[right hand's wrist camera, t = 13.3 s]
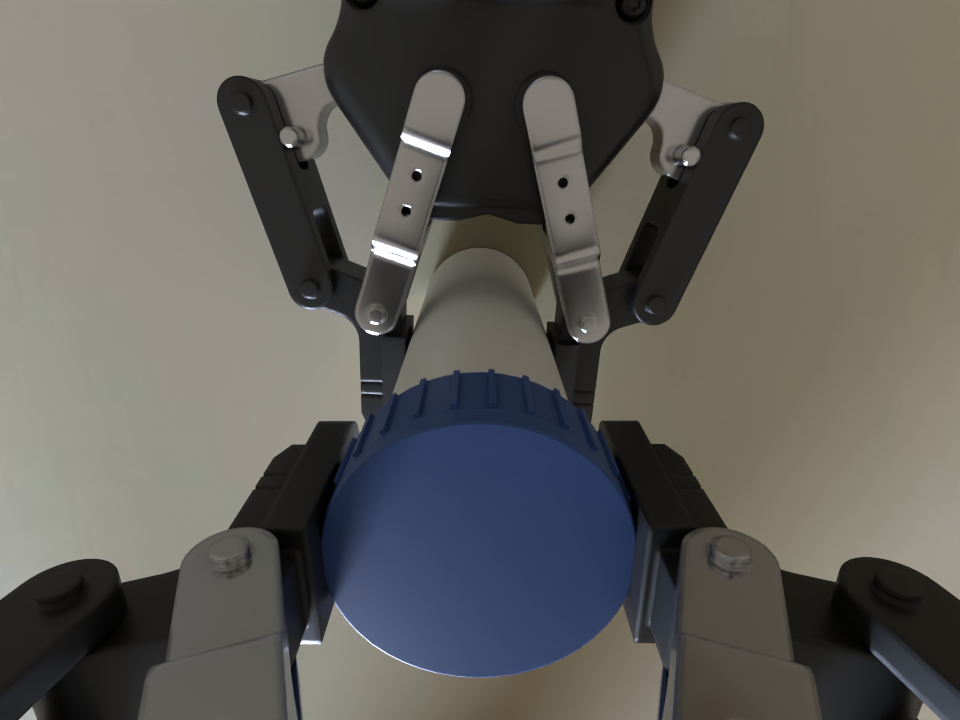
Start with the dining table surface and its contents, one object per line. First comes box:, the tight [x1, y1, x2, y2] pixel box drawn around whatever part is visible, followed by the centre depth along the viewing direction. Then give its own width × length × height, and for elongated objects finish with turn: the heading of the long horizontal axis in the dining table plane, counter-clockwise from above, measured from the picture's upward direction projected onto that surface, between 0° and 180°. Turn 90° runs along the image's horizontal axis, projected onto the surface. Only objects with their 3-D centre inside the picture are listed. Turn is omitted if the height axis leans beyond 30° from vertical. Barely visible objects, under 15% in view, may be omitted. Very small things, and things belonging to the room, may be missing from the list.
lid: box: [321, 369, 636, 678], centre depth 10 cm, size 5×5×2 cm
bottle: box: [393, 248, 568, 400], centre depth 17 cm, size 4×4×15 cm
